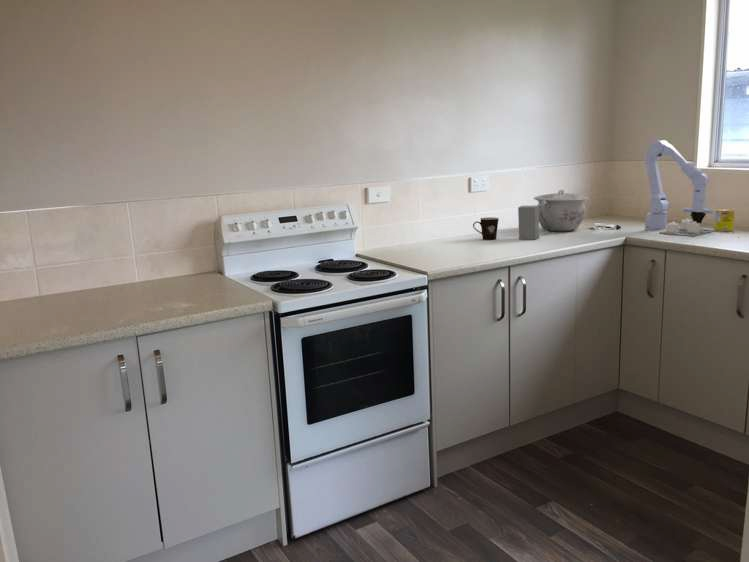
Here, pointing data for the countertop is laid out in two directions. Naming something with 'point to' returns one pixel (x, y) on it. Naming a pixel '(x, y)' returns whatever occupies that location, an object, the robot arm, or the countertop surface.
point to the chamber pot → (561, 211)
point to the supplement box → (724, 220)
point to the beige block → (693, 227)
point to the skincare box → (528, 222)
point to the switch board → (689, 232)
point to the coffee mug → (488, 228)
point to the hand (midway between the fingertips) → (697, 228)
